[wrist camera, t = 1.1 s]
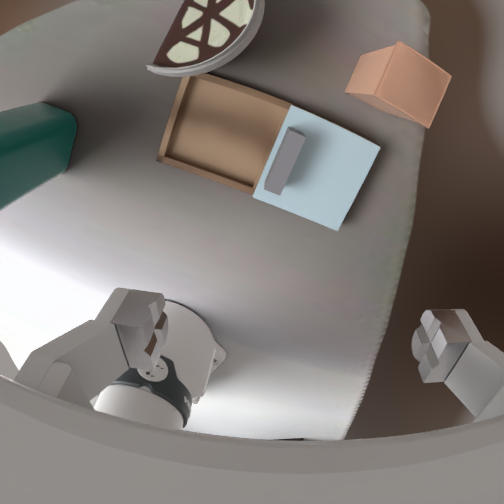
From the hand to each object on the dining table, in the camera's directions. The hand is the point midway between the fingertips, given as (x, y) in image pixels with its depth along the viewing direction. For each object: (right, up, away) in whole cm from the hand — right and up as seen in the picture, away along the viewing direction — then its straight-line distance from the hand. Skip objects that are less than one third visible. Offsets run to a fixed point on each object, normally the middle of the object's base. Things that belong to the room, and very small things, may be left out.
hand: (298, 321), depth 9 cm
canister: (+11, +19, +18) cm, 29 cm away
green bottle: (-26, +16, +23) cm, 38 cm away
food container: (-3, +24, +17) cm, 30 cm away
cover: (+5, +10, +22) cm, 25 cm away
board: (0, +13, +23) cm, 26 cm away
